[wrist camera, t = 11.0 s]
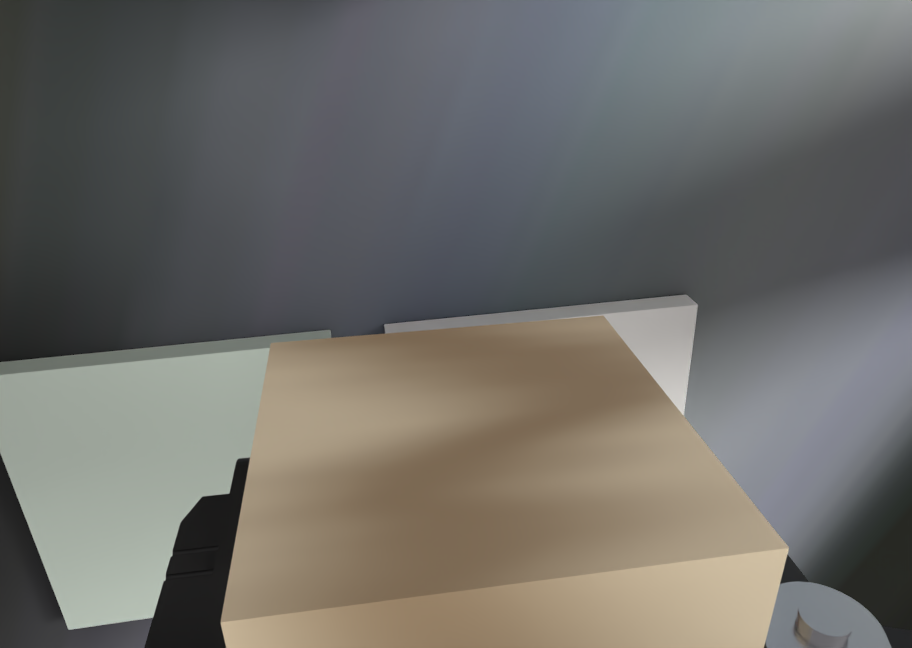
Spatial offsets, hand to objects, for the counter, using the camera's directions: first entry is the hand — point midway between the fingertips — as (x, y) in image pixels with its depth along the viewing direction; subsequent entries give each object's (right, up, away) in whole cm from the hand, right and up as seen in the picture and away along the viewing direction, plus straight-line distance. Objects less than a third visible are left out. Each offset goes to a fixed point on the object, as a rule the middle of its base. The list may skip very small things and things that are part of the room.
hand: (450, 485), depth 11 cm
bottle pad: (-10, -4, +17) cm, 20 cm away
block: (0, 0, 0) cm, 0 cm away
